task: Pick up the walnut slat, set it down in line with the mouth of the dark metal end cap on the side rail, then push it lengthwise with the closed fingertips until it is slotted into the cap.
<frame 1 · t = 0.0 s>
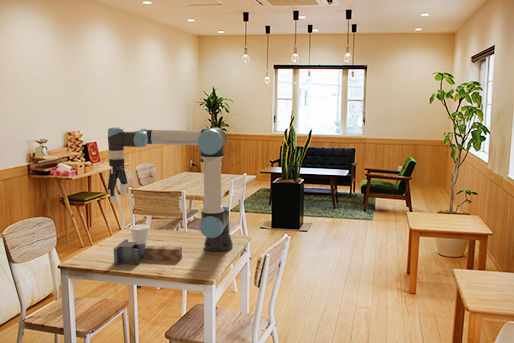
hand: (118, 199, 259), 28 cm above the table, fingers open, 13 cm apart
endcap: (129, 260, 251), on the table
cup: (140, 247, 273), on the table
slat: (163, 259, 254), on the table
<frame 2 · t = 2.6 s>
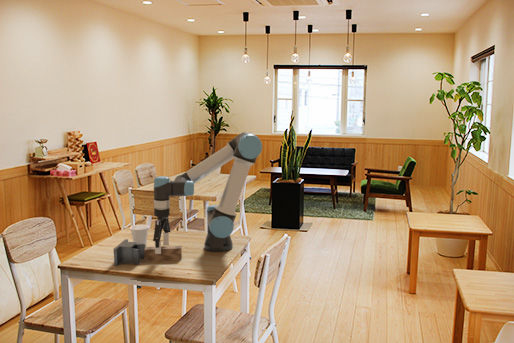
hand: (162, 249, 253), 5 cm above the table, fingers open, 13 cm apart
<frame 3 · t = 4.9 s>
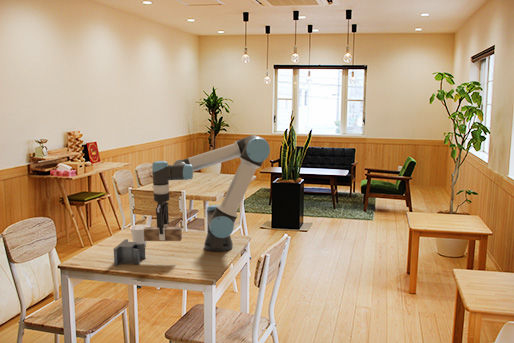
hand: (163, 238, 252), 10 cm above the table, fingers closed on slat, 4 cm apart
slat: (163, 239, 252), point 10 cm above the table, touching gripper
everything else where it was.
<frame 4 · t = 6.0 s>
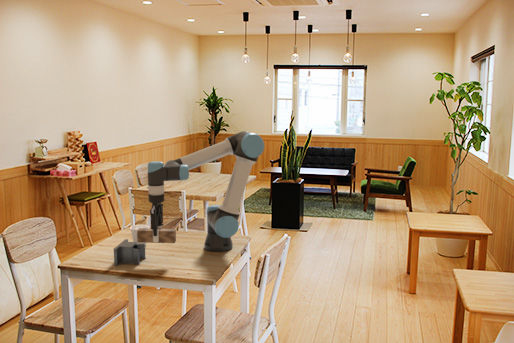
hand: (157, 240, 247), 11 cm above the table, fingers closed on slat, 4 cm apart
slat: (156, 241, 247), point 10 cm above the table, touching gripper
everything else where it was.
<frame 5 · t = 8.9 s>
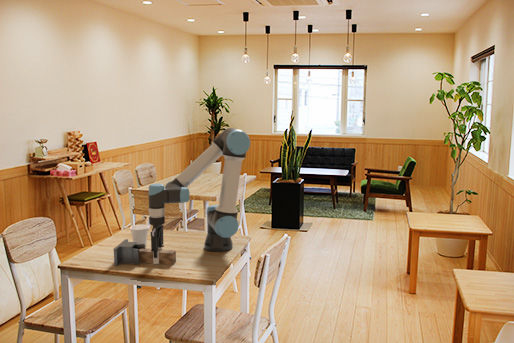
hand: (157, 261, 249), 0 cm above the table, fingers open, 4 cm apart
slat: (157, 262, 249), on the table, touching gripper
everything else where it was.
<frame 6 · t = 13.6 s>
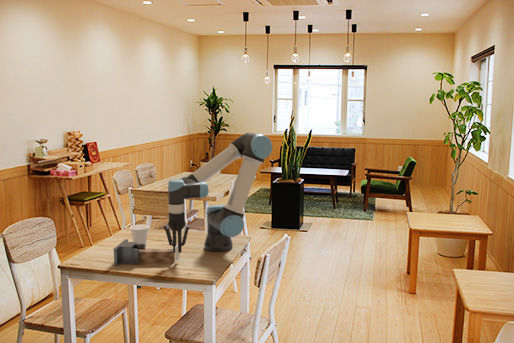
hand: (177, 258, 247), 2 cm above the table, fingers closed
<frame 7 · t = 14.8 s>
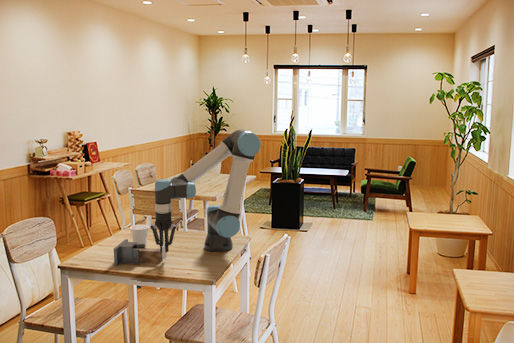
hand: (164, 258, 248), 2 cm above the table, fingers closed
slat: (144, 261, 251), on the table, touching gripper
everything else where it was.
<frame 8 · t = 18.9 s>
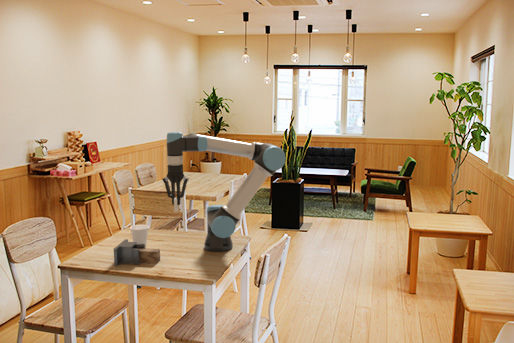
hand: (176, 211, 250), 24 cm above the table, fingers closed
slat: (141, 261, 251), on the table
everything else where it was.
at the end: slat 0.7 cm from the target spot on the endcap, point 0.0 cm above the endcap's base; slat tilted 0°; the gripper is holding nothing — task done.
